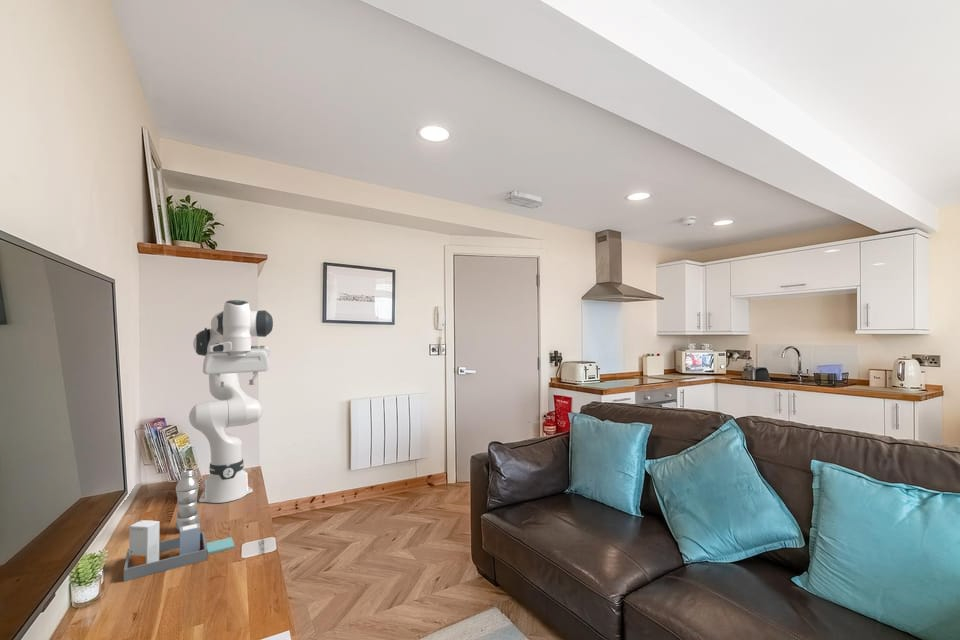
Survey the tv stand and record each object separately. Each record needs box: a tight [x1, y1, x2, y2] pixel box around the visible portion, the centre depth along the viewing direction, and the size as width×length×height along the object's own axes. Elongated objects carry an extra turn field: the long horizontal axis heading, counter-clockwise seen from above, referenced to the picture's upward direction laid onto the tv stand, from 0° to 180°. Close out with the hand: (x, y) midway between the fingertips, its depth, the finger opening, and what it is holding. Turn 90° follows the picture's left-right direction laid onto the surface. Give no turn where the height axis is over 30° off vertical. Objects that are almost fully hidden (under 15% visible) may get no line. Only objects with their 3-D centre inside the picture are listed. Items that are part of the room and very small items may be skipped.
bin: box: [123, 531, 208, 582], centre depth 131 cm, size 14×19×3 cm
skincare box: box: [128, 519, 161, 568], centre depth 127 cm, size 6×4×12 cm
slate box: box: [179, 522, 201, 555], centre depth 134 cm, size 4×5×8 cm
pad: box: [206, 536, 235, 555], centre depth 138 cm, size 7×7×1 cm
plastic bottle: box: [175, 468, 200, 532], centre depth 150 cm, size 6×7×20 cm
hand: (236, 385), depth 155 cm, fingers open, 8 cm apart
